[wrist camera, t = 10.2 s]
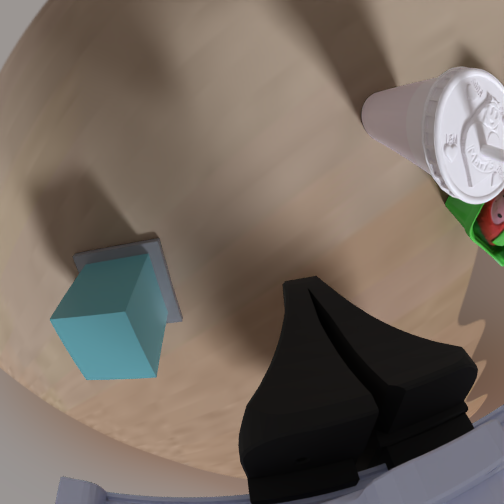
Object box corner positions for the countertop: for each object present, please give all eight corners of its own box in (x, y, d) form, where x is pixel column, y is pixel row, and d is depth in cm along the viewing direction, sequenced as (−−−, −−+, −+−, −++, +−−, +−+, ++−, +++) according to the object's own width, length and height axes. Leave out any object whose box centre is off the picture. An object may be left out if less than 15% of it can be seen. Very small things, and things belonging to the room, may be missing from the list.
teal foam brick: (168, 312, 23) (156, 377, 17) (109, 319, 23) (86, 379, 17) (148, 253, 21) (125, 311, 15) (85, 264, 20) (49, 319, 15)
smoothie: (331, 144, 19) (492, 224, 6) (356, 58, 16) (532, 33, 4) (406, 172, 20) (557, 261, 8) (429, 95, 18) (594, 127, 5)
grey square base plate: (182, 317, 24) (176, 368, 19) (105, 325, 24) (88, 372, 19) (159, 238, 21) (142, 279, 16) (75, 253, 20) (43, 294, 16)
